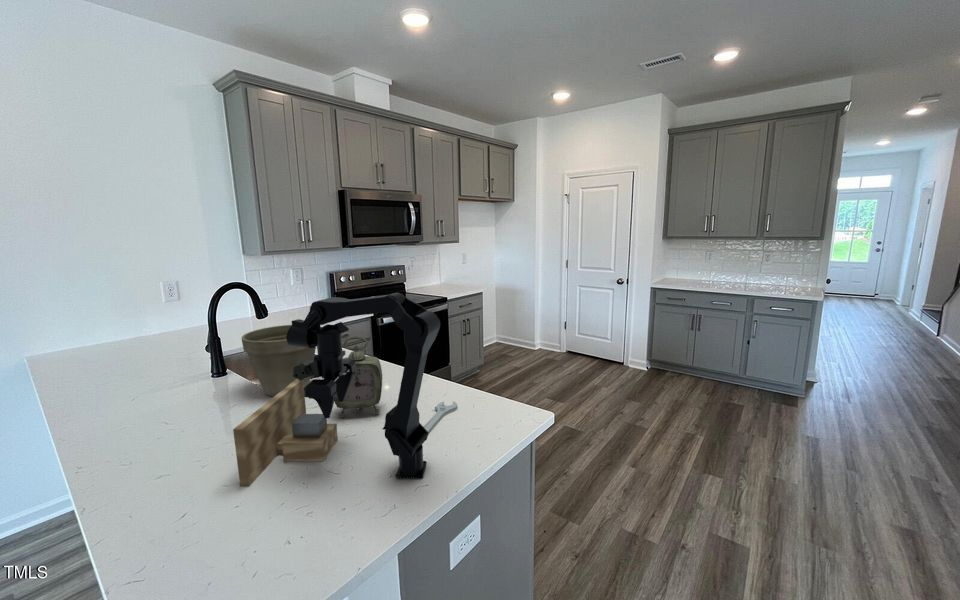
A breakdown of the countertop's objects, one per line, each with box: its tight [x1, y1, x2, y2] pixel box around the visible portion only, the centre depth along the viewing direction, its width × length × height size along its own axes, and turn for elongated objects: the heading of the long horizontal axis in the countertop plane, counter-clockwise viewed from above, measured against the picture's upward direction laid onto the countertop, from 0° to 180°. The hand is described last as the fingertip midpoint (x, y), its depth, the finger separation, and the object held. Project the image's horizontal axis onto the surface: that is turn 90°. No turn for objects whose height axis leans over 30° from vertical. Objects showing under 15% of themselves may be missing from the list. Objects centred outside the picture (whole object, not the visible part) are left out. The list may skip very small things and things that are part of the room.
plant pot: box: [241, 324, 317, 397], centre depth 144 cm, size 25×25×22 cm
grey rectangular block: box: [292, 413, 328, 438], centre depth 104 cm, size 5×7×8 cm
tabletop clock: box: [334, 336, 383, 419], centre depth 124 cm, size 14×9×25 cm, turn 101°
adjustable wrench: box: [422, 401, 458, 434], centre depth 120 cm, size 25×6×2 cm, turn 157°
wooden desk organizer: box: [232, 379, 339, 487], centre depth 104 cm, size 30×15×14 cm, turn 179°
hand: (334, 409), depth 100 cm, fingers open, 9 cm apart
